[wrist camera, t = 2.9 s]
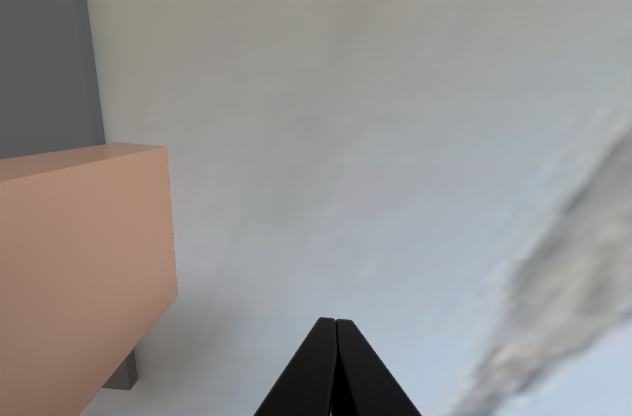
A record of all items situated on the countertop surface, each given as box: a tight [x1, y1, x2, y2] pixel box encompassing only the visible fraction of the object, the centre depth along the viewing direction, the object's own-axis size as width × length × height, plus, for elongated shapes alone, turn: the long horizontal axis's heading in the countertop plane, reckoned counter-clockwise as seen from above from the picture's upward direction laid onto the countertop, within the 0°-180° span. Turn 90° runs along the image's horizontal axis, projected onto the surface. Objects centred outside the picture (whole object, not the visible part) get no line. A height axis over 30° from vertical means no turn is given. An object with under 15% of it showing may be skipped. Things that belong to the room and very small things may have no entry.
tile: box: [0, 142, 178, 416], centre depth 9 cm, size 7×2×9 cm, turn 175°
